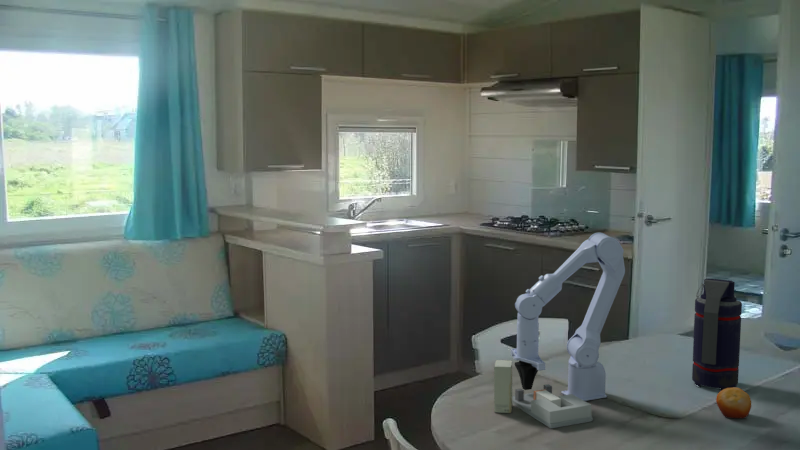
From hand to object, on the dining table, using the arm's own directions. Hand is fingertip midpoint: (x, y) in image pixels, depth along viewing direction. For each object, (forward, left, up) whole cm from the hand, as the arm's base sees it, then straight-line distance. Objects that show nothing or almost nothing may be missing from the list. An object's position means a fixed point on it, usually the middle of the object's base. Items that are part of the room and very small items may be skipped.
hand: (527, 388), depth 210 cm
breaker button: (0, +10, -1) cm, 10 cm away
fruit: (-40, +32, -3) cm, 51 cm away
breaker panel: (0, +10, -2) cm, 10 cm away
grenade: (-52, +13, -3) cm, 54 cm away
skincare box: (+10, +5, -3) cm, 11 cm away
